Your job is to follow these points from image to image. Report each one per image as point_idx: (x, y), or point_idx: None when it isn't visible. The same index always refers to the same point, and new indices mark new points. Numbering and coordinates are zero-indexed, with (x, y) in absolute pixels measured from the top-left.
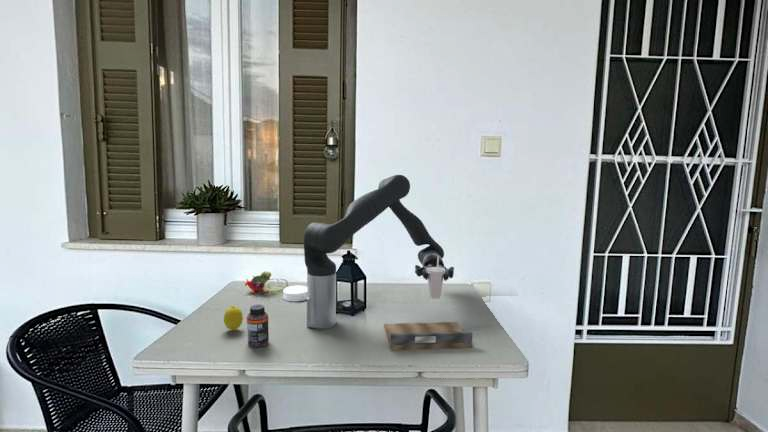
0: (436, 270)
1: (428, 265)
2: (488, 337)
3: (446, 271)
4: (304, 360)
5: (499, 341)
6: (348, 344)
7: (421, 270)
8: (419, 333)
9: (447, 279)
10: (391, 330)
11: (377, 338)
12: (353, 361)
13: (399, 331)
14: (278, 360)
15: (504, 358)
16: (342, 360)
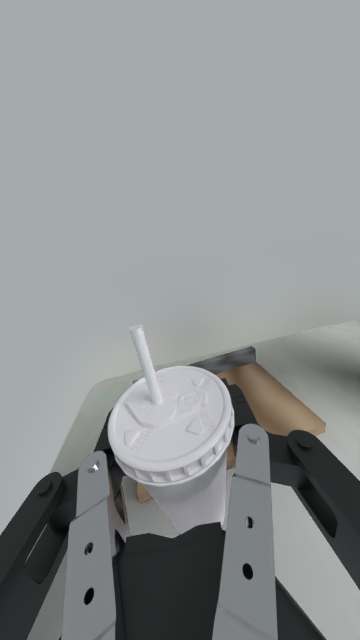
0: (167, 384)
1: (271, 631)
2: (90, 447)
3: (97, 451)
4: (330, 328)
5: (80, 434)
6: (322, 361)
7: (291, 462)
8: (214, 359)
9: None
10: (282, 396)
11: (296, 387)
12: (279, 339)
13: (264, 397)
14: (355, 322)
15: (108, 386)
16: (291, 338)
